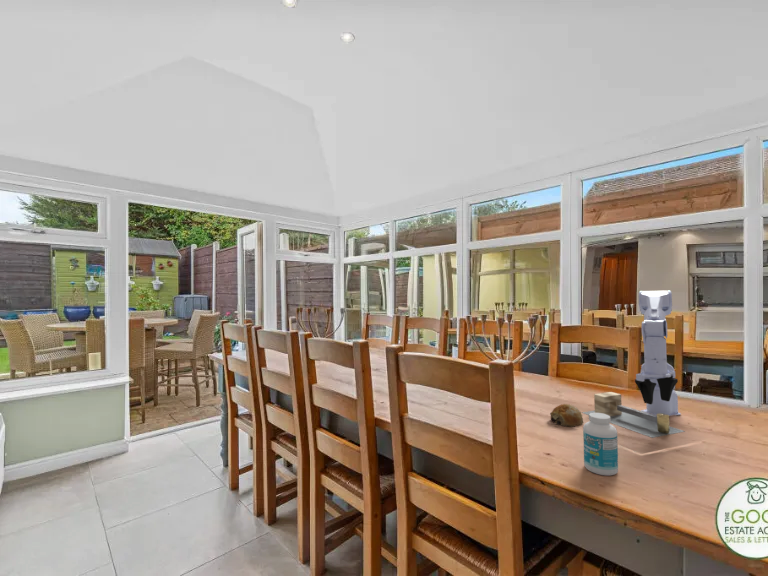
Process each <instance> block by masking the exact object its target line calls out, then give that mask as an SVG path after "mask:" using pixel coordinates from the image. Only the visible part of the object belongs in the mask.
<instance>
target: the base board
mask: <svg viewBox="0 0 768 576" xmlns="http://www.w3.org/2000/svg"><path fill="white" fill-rule="evenodd" d="M580 412H581V411H580ZM590 413H595V409H594V410H589V411H583V412H581V414H584V415H587V416H589V414H590ZM610 419H611V422H610V423H609V424H611V425H614V426H618V427H621V428H624V429H627V430H629V431H632V432H635V433H637V434H641V435H643V436H645V437H649V438H651V439H654V438H658V437H663V436H664V437H665V436H669V435H674V434H678V433H679V434H680V433H683V432H684V433H685V432H686V431H685V430H683V429H679V428H676V427H673V426H670V425H669V430H670V432H669V433H662V432H659V431H658V430H657V422H653V421H650V420H647V419H644V418H641V417H637V416H634V415H631V414H628V413H625V412H622V415H615V416H610Z"/></svg>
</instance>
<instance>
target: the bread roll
mask: <svg viewBox="0 0 768 576" xmlns="http://www.w3.org/2000/svg"><path fill="white" fill-rule="evenodd" d="M550 421H551V422H552V423H553V424H555V425H558V426H562V427H568V428H573V427H575V428H576V426H582V425H584V418H583V413H581V410H579V408H578V407H576V406H574V405H572V404H570V403H569V404H568V403H562V404H559V405H557V406H555V407H554V408H553V410H551V412H550Z"/></svg>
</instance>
